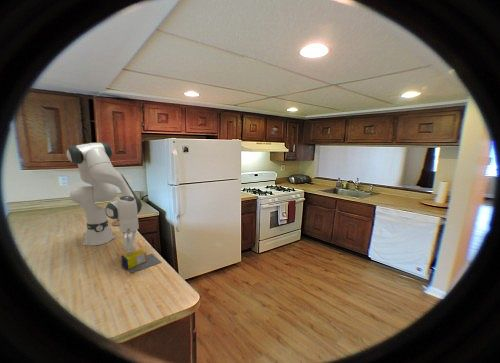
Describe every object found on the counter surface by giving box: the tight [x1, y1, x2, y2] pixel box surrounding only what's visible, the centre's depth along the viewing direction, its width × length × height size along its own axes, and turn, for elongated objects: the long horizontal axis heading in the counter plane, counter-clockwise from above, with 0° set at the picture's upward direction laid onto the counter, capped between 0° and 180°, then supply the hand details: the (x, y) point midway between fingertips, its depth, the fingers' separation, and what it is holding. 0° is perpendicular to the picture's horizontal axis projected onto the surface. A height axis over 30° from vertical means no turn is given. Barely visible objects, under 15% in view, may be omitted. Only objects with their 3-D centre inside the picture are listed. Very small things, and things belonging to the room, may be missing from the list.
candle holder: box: [110, 199, 120, 227], centre depth 187 cm, size 12×12×20 cm
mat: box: [127, 253, 162, 274], centre depth 126 cm, size 14×16×1 cm
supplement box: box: [120, 249, 147, 270], centre depth 124 cm, size 6×6×11 cm
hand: (131, 250), depth 121 cm, fingers closed
